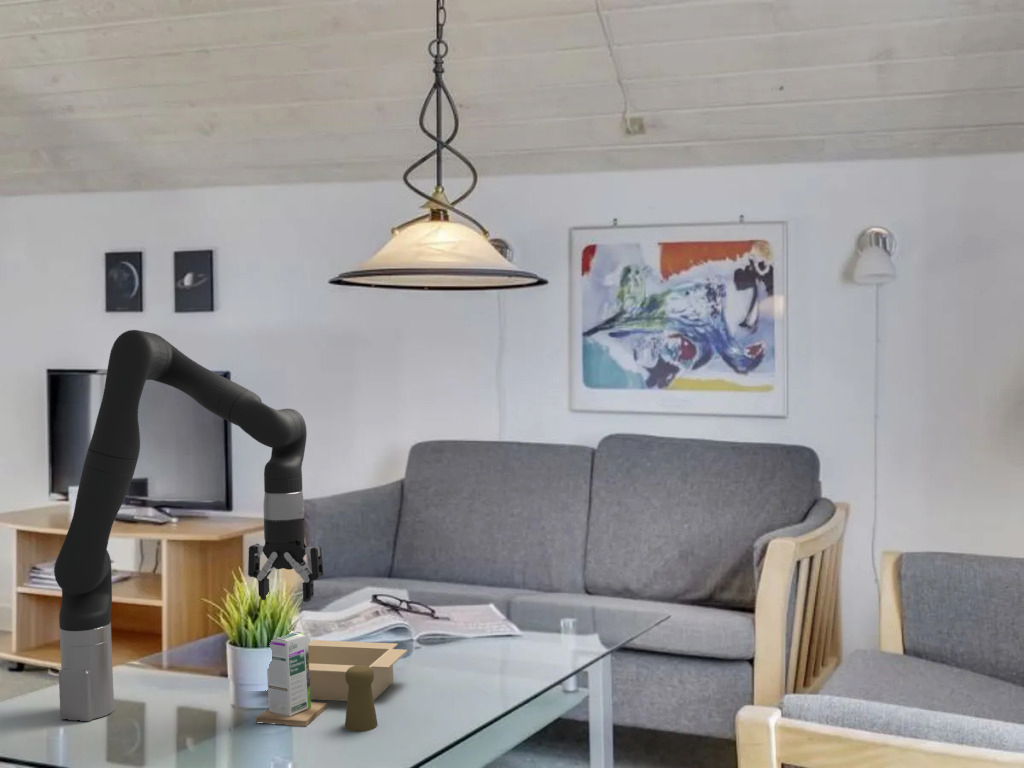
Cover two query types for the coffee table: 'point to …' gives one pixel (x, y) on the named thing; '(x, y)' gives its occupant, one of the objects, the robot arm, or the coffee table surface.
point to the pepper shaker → (360, 699)
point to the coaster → (295, 720)
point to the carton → (339, 656)
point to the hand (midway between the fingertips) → (286, 600)
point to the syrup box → (289, 674)
